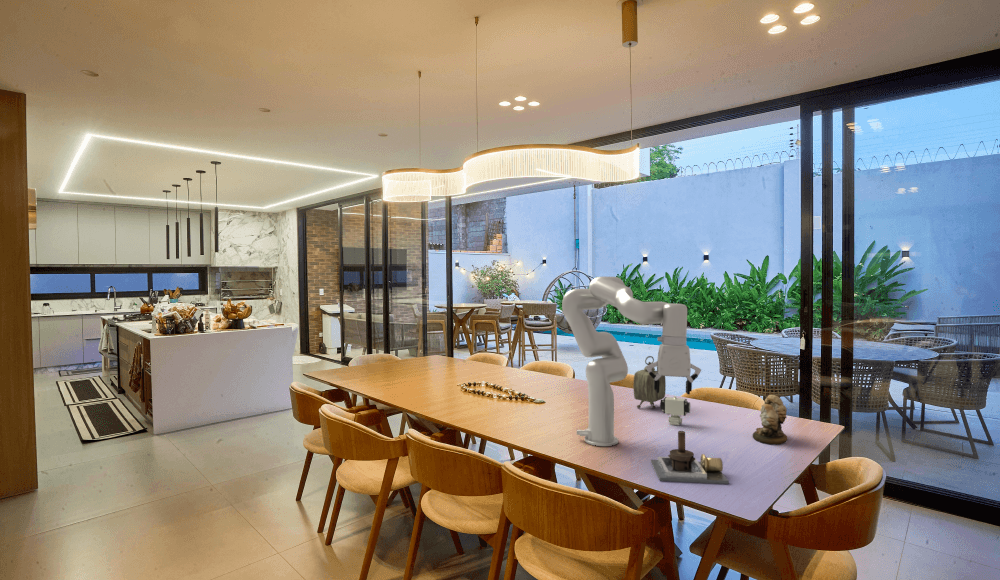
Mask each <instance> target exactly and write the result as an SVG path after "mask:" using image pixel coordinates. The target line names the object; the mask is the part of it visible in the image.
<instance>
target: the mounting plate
mask: <svg viewBox="0 0 1000 580" xmlns="http://www.w3.org/2000/svg"><path fill="white" fill-rule="evenodd" d="M694 458H695V460H694V462H692V470H689V471H678V470H675V469H673V467H672V460H671V459H670V457H668V456H657V459H650V464H651V463H652V464H651V465H653V466H652V468H653V467H654V468H653V470H654V469H655V470H654V472H655V475H656V476H657V479H658V478H659V479H658V480H660V482H667V481H669V483H692V484H713V485H715V484H716V485H717V484H718V485H729V484H730V480H729V478H727V477H726V476H725V474H724V473H723V468H724V466H723V459H722V458H721V457H706V454H704V453H701V455H700V461H698V459H697V458H696V457H694ZM670 481H671V482H670Z"/></svg>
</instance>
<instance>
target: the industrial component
mask: <svg viewBox="0 0 1000 580" xmlns="http://www.w3.org/2000/svg"><path fill="white" fill-rule="evenodd" d="M694 455H695V453H694V452H692V451H690V450H688V449H686V431H683V430H679V431H677V449H676V448H673V449H671V450H669V454H668V455H667V457H670V459H671V460H672V467H673V469H675V470H678V471H689V470H692V462H694V460H695V458H696V457H694Z"/></svg>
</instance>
